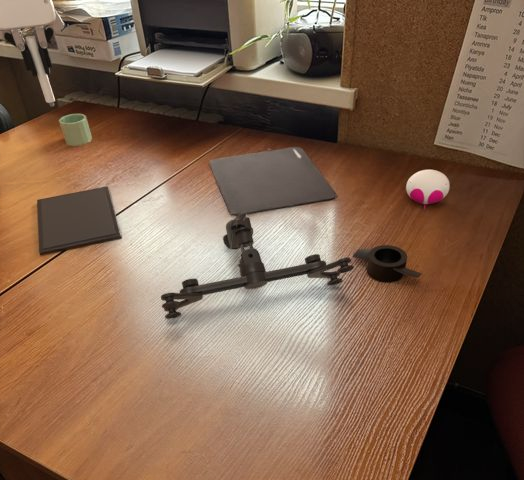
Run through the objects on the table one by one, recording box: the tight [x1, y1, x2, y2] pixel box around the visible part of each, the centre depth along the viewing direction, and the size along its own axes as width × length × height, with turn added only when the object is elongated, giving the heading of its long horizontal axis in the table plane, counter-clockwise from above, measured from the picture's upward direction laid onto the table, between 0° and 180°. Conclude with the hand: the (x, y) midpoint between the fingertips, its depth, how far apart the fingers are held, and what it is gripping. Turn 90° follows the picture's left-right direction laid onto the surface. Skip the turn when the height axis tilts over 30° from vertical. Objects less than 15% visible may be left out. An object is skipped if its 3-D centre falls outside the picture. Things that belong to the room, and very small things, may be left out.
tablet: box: [36, 185, 122, 257], centre depth 94 cm, size 20×14×1 cm
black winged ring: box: [352, 244, 422, 284], centre depth 78 cm, size 8×10×3 cm
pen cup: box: [58, 113, 93, 147], centre depth 119 cm, size 6×6×6 cm
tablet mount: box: [160, 213, 355, 320], centre depth 76 cm, size 27×14×17 cm
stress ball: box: [405, 169, 451, 210], centre depth 92 cm, size 8×8×7 cm
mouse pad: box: [209, 146, 337, 216], centre depth 103 cm, size 25×21×1 cm
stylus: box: [25, 35, 56, 108], centre depth 88 cm, size 2×2×11 cm
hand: (41, 72), depth 88 cm, fingers closed on stylus, 1 cm apart
